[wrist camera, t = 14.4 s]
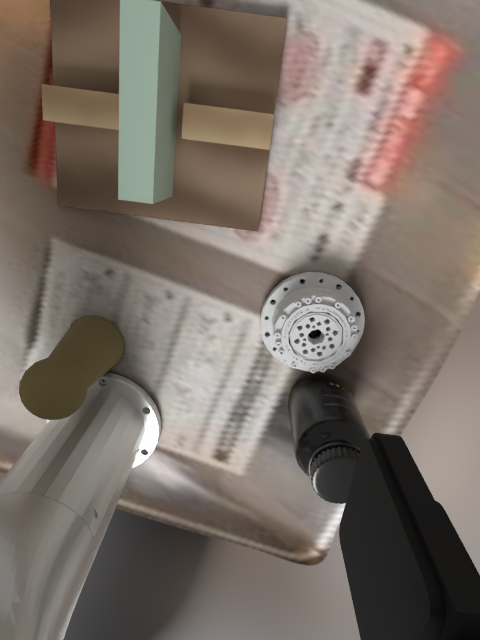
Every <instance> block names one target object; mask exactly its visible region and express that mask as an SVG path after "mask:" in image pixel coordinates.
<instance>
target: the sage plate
mask: <svg viewBox="0 0 480 640" xmlns="http://www.w3.org/2000/svg"><path fill="white" fill-rule="evenodd" d="M180 49H181V34H180V32H179V31H178V29H177V27H176V26H175V24H174V22H173V21H172V19H171V17H170V16H169V14H168V13H167V11H166V9H165V8H164V6H163V4H162V3H161V1H153V0H120V53H119V163H118V200H126V201H134V202H142V203H150V204H154V203H156V202H159V201H162V200H164V199H167V198H170V197H172V193H173V175H174V157H175V139H176V121H177V103H178V85H179V67H180Z"/></svg>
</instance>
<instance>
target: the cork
mask: <svg viewBox="0 0 480 640" xmlns="http://www.w3.org/2000/svg"><path fill="white" fill-rule="evenodd" d="M124 350H125V342H124V337H123V335H122V333H121V332H120V330H119V329H118V328H117V327H116V326H115V325H114V323H112V322H110V321H109V320H107V319H105V318H102V317H98V316H85V317H83V318H80V319H78V320H77V321H76V322H74V323H73V324H72V325H71V327H70V328H69V330H68V331H67V332H66V334H65V335H64V336H63V338H62V339H61V341H60V342H59V343H58V345H57V346H56V348H55V349H54V350H53V352H52V353H51V354H50V356H49V357H48V358H46V359H43V360H40V361H38V362H36V363H34V364H33V365H32V366H31V367H30V368H29V369H27V370H26V371H25V373H24V375H23V377H22V379H21V381H20V386H19V394H20V398H21V401H22V403H23V404H24V406H25V407H26V409H28V410H29V411H30V412H31V413H32V414H34V415H35V416H37V417H39V418H42V419H46V420H59V419H63V418H66V417H69V416H70V415H72V414H73V413H75V412H76V411H77V410H78V409H79V408H80V407H81V405H82V404H83V402H84V400H85V399H86V395H87V390H88V388H89V387H90V386H91V385H93V384H94V383H95V382H96V381H97V380H98V379H99V378H101V377H102V376H103V375H104V374H105V373H106V372H108V371H109V370H110V369H111V368H112V367H113V366H114V365H116V364H117V363H118V362H119V361H120V360H121V358H122V356H123V355H124Z"/></svg>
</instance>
